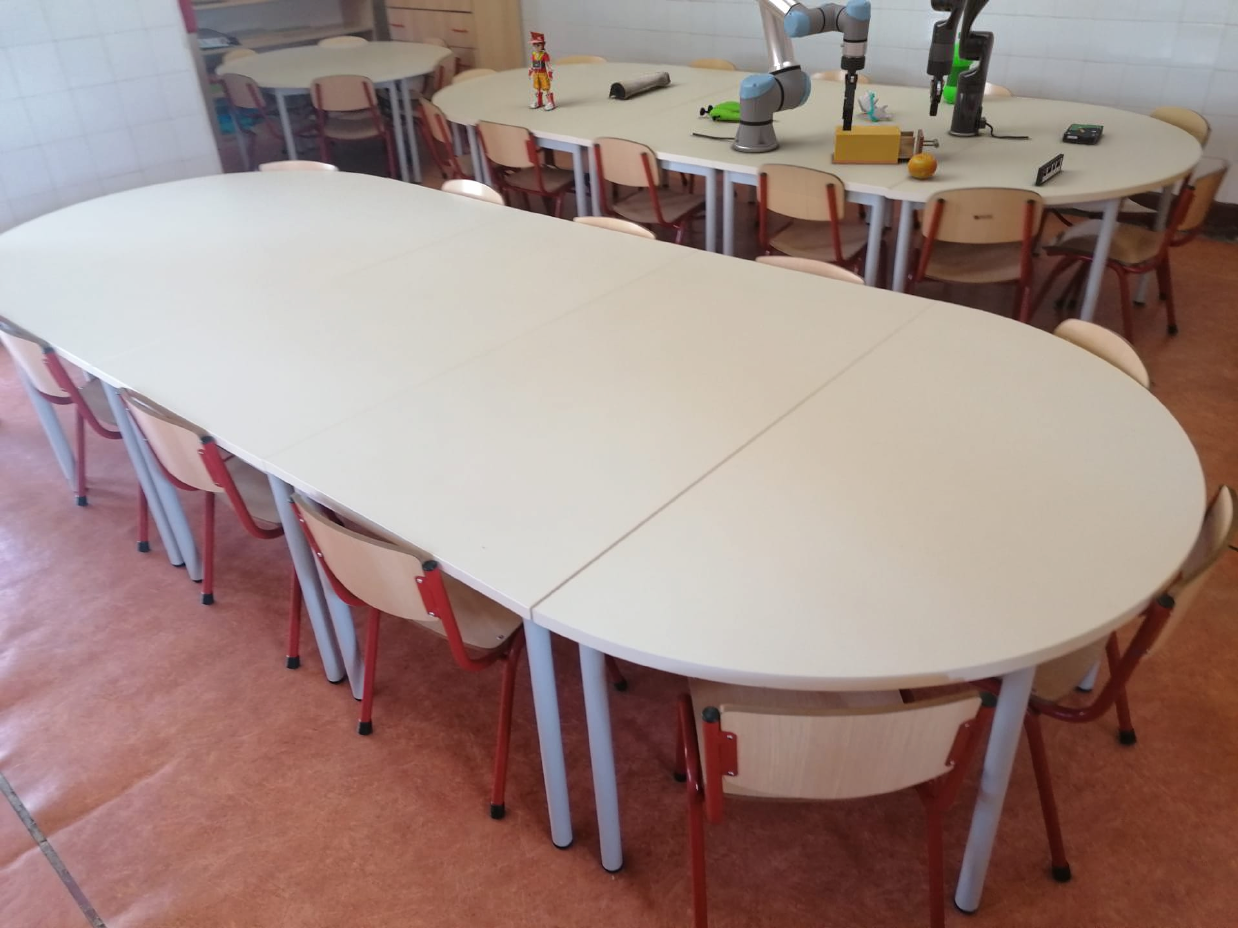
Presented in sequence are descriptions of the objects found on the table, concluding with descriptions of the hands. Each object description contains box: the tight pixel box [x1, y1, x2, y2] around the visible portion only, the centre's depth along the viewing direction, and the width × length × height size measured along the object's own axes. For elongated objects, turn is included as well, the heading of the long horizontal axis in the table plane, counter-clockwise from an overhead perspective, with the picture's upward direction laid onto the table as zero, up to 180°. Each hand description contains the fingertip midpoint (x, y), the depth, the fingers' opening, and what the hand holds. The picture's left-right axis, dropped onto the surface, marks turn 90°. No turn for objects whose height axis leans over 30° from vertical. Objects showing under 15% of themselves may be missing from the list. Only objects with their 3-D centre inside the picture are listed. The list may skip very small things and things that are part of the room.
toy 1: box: [527, 31, 556, 111], centre depth 374 cm, size 12×9×30 cm
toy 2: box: [699, 100, 777, 122], centre depth 351 cm, size 28×5×30 cm
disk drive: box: [1061, 123, 1105, 145], centre depth 306 cm, size 10×3×15 cm
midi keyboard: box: [1035, 153, 1065, 186], centre depth 273 cm, size 18×1×5 cm, turn 138°
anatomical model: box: [857, 89, 892, 122], centre depth 341 cm, size 15×10×10 cm
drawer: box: [898, 128, 940, 159], centre depth 296 cm, size 24×9×7 cm, turn 79°
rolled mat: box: [608, 71, 672, 101], centre depth 395 cm, size 30×9×10 cm
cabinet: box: [833, 125, 901, 165], centre depth 298 cm, size 20×11×9 cm, turn 79°
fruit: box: [907, 152, 938, 179], centre depth 279 cm, size 8×8×8 cm
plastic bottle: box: [942, 31, 974, 104], centre depth 348 cm, size 10×10×25 cm
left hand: (846, 124), depth 296 cm, fingers open, 13 cm apart
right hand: (932, 115), depth 289 cm, fingers closed
